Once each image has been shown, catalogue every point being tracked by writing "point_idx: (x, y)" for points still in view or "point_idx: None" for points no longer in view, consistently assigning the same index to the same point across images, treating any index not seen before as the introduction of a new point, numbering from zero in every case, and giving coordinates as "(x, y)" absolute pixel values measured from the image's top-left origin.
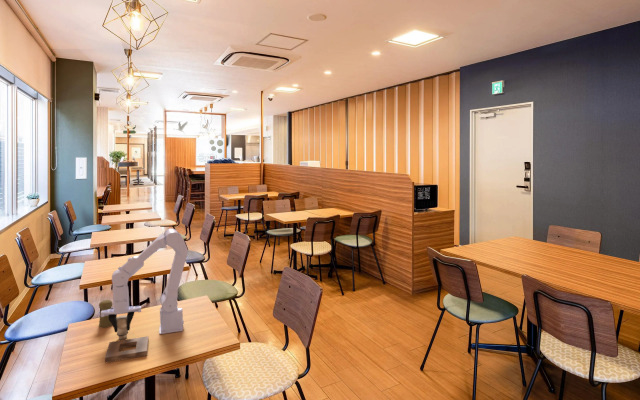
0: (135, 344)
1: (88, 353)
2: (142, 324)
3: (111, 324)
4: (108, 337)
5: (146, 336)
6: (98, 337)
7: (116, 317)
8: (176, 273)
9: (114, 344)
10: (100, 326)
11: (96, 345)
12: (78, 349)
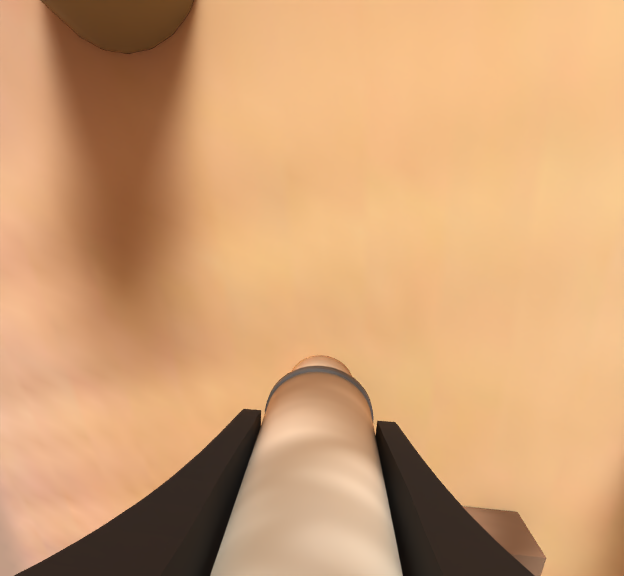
0: None
1: (114, 509)
2: (524, 136)
3: (171, 13)
4: (199, 322)
5: (528, 556)
6: (114, 287)
7: (177, 572)
8: None
9: None
10: (57, 15)
11: (136, 423)
12: (27, 431)
